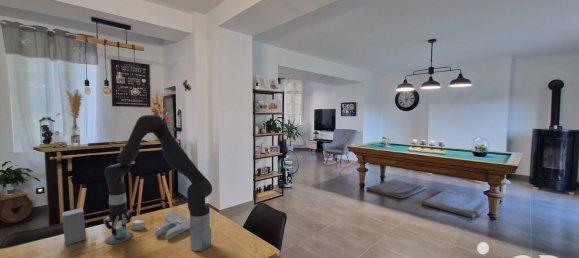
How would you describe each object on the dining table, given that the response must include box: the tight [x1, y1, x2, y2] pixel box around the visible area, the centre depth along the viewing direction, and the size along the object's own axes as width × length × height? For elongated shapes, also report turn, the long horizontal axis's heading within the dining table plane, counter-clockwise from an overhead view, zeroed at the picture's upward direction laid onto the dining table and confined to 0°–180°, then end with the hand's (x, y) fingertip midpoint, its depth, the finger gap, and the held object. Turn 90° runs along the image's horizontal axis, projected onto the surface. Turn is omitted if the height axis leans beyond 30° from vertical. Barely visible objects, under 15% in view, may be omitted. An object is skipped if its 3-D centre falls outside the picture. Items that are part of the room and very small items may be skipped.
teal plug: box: [113, 225, 127, 238], centre depth 128 cm, size 10×4×4 cm, turn 59°
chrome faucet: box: [154, 210, 190, 240], centre depth 137 cm, size 18×7×20 cm
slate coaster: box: [104, 231, 134, 245], centre depth 128 cm, size 12×12×1 cm
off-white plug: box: [129, 219, 146, 231], centre depth 139 cm, size 9×3×4 cm, turn 80°
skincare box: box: [62, 207, 87, 246], centre depth 125 cm, size 8×7×16 cm
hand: (119, 233), depth 128 cm, fingers closed on teal plug, 3 cm apart
